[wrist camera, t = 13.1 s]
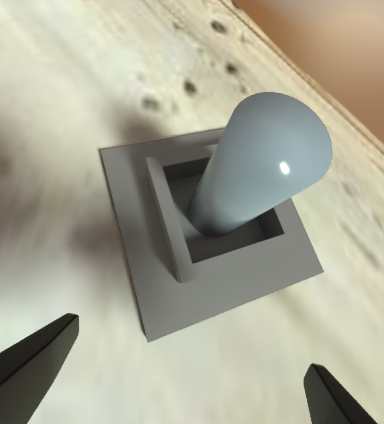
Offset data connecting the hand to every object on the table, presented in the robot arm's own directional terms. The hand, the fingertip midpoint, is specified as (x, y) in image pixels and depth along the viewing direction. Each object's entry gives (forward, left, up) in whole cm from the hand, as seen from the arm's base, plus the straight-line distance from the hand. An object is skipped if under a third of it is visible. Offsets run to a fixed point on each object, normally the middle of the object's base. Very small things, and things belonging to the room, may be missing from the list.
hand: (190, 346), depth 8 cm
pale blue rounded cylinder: (+6, +7, -9) cm, 12 cm away
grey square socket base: (+6, +7, -9) cm, 13 cm away
